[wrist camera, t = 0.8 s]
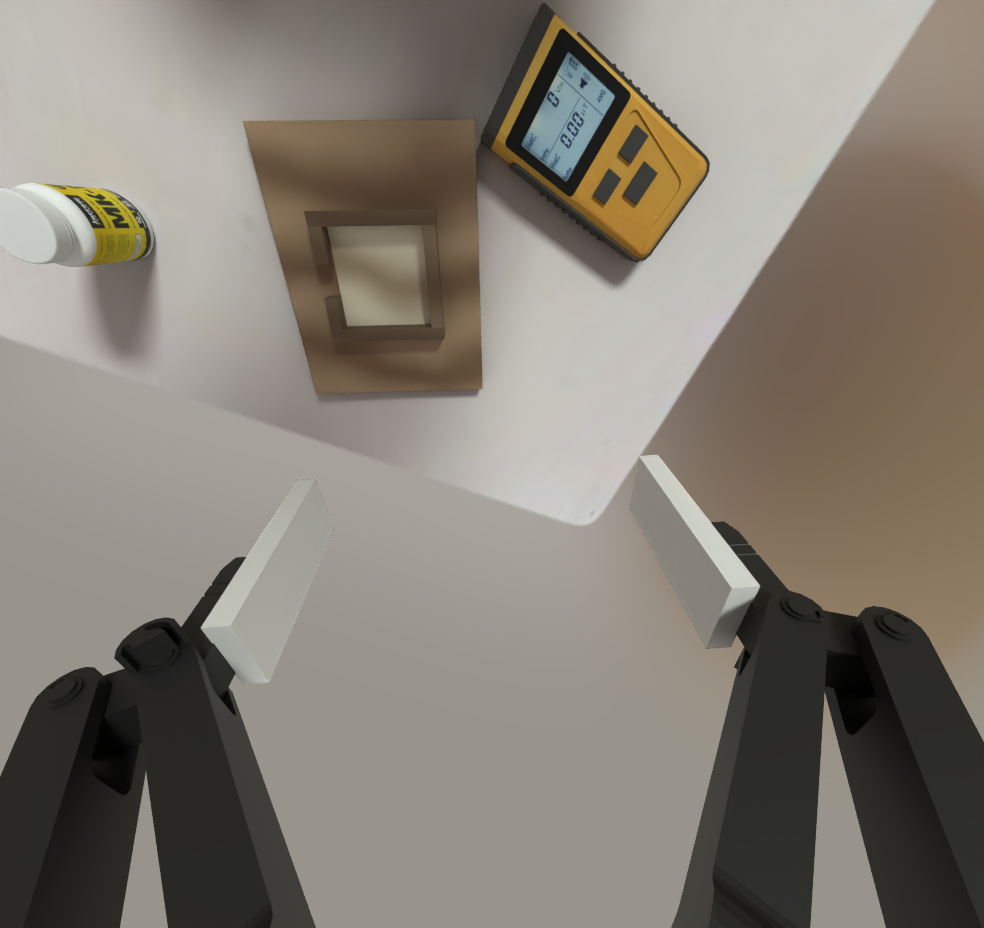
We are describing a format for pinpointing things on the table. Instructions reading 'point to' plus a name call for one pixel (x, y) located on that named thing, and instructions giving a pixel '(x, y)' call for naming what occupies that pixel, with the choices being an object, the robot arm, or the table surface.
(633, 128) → the electronic device
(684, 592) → the robot arm
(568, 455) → the table surface
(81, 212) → the supplement bottle
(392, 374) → the board
